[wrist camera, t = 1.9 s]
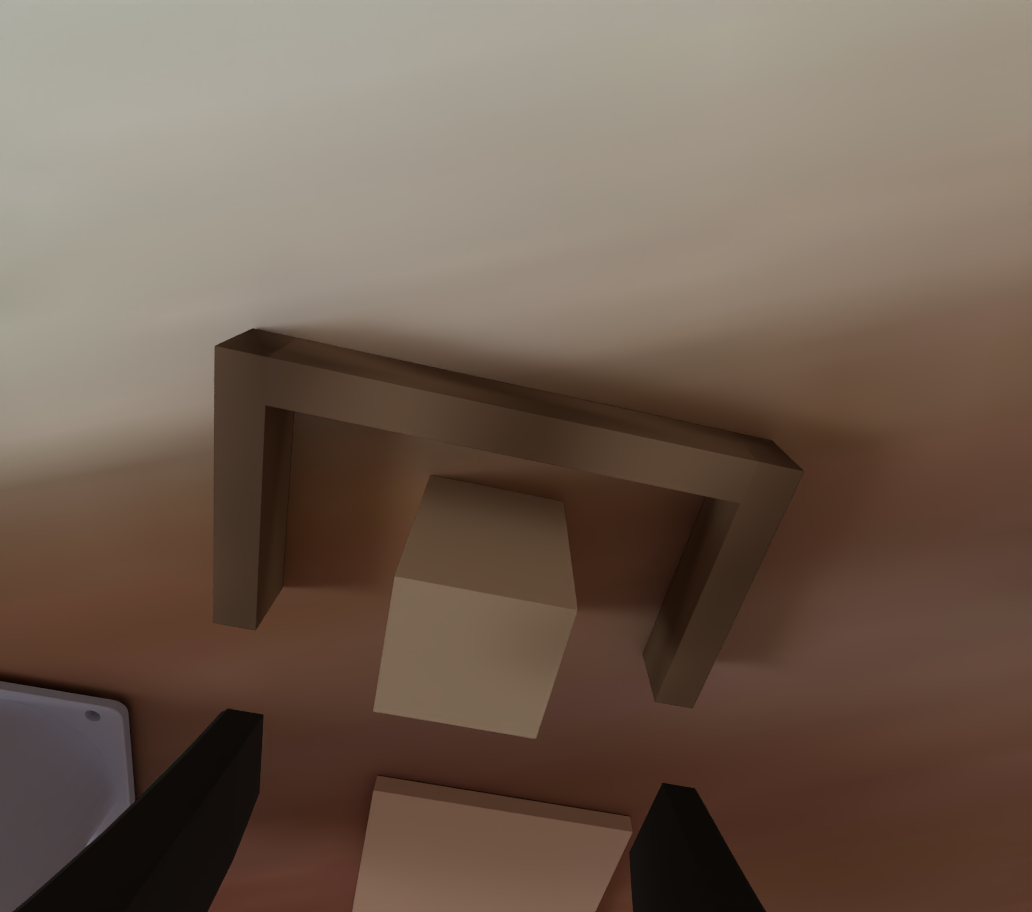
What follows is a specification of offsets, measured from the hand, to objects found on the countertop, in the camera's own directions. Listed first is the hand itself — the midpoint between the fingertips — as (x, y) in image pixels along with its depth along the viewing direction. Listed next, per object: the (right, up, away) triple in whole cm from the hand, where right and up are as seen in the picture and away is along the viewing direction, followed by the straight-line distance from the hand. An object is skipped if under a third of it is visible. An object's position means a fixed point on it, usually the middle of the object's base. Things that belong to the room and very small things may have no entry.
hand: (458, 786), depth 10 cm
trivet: (0, -12, +14) cm, 18 cm away
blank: (0, +3, +7) cm, 8 cm away
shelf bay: (0, +4, +7) cm, 8 cm away
